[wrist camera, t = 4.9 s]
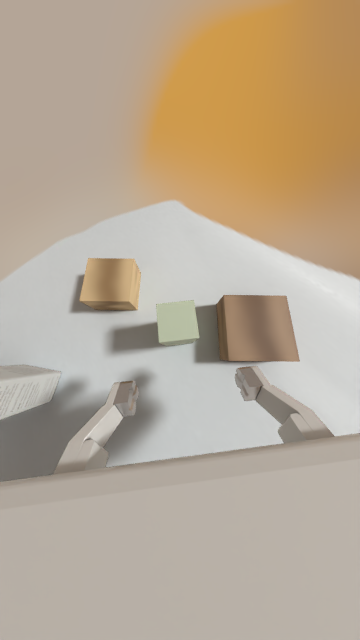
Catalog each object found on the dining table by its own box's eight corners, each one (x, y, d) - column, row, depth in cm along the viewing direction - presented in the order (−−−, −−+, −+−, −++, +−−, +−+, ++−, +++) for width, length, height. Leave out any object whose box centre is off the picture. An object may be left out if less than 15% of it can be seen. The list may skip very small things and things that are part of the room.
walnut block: (219, 359, 20) (228, 360, 16) (216, 304, 22) (223, 295, 18) (276, 359, 20) (299, 361, 16) (267, 305, 22) (286, 295, 19)
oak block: (96, 310, 22) (79, 301, 18) (103, 273, 24) (88, 258, 20) (138, 310, 22) (129, 301, 18) (141, 274, 24) (133, 258, 20)
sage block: (166, 346, 20) (158, 342, 13) (164, 321, 21) (156, 304, 14) (191, 343, 20) (199, 337, 13) (188, 318, 21) (193, 300, 14)
